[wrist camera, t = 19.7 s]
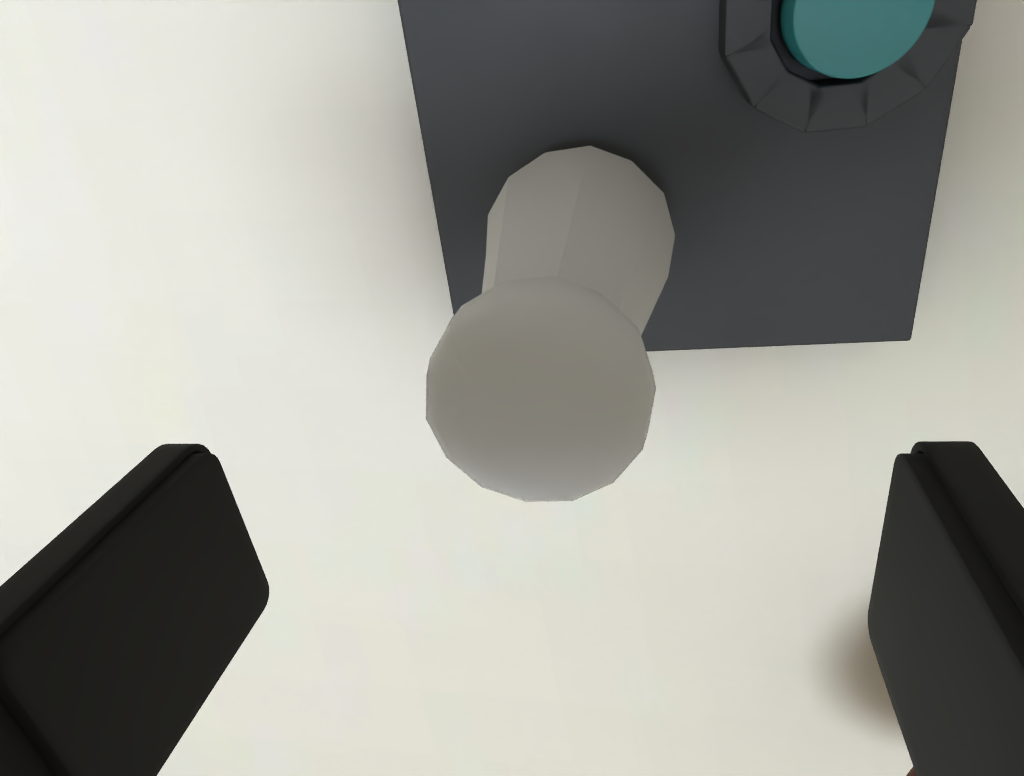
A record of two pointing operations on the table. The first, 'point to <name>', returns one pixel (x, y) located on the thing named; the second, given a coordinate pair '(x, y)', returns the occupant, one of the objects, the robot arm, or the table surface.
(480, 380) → the salt shaker
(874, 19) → the button
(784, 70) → the scale
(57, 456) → the table surface
